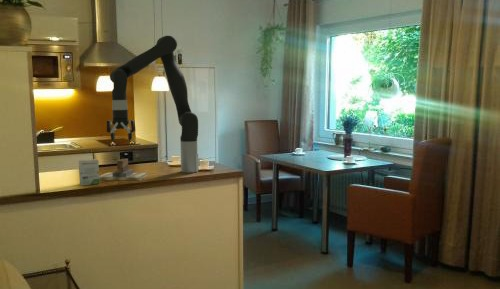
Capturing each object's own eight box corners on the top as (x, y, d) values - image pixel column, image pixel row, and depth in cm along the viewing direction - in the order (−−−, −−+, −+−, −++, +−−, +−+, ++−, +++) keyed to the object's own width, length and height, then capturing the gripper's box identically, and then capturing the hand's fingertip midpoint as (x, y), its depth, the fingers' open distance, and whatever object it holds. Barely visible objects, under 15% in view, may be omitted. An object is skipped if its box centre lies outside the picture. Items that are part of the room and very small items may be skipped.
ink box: (97, 182, 223) (96, 158, 221) (99, 183, 219) (98, 160, 217) (79, 183, 219) (78, 160, 217) (81, 185, 214) (79, 161, 213)
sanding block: (133, 173, 239) (132, 158, 238) (126, 177, 228) (125, 161, 227) (120, 173, 239) (119, 158, 238) (112, 176, 228) (112, 161, 227)
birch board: (147, 175, 239) (147, 172, 239) (139, 180, 227) (139, 177, 226) (107, 175, 241) (107, 172, 241) (97, 180, 228) (97, 177, 228)
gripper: (136, 108, 233) (137, 139, 235) (109, 108, 234) (110, 139, 236) (131, 109, 225) (132, 141, 227) (103, 109, 226) (105, 141, 228)
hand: (121, 140), depth 231 cm, fingers open, 8 cm apart
